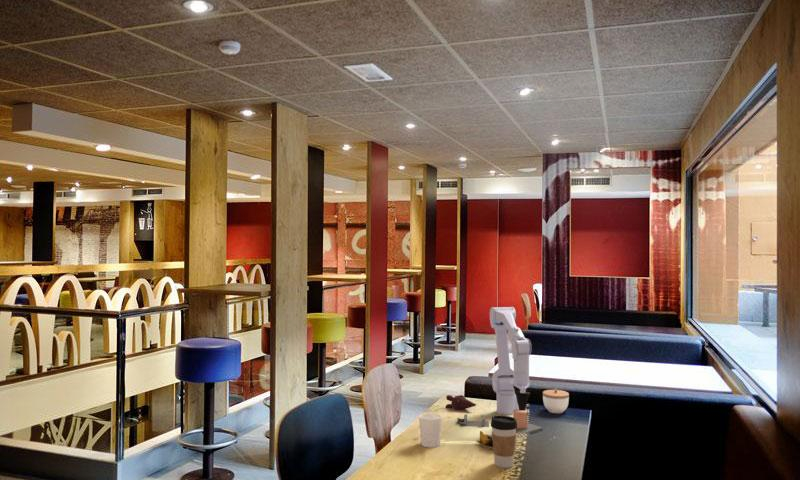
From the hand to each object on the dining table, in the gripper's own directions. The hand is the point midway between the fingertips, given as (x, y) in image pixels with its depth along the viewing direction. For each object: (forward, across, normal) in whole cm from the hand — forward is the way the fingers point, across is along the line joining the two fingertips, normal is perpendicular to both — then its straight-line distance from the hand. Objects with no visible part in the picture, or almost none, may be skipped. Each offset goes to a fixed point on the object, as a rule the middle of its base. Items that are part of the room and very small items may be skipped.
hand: (521, 407), depth 229 cm
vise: (+8, -2, -18) cm, 20 cm away
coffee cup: (+8, +37, -8) cm, 39 cm away
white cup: (+9, +21, -33) cm, 40 cm away
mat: (+8, 0, 0) cm, 8 cm away
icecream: (+9, -22, -23) cm, 33 cm away
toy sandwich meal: (+9, +18, -10) cm, 22 cm away
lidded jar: (+9, -26, +16) cm, 32 cm away
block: (+7, 0, 0) cm, 7 cm away
